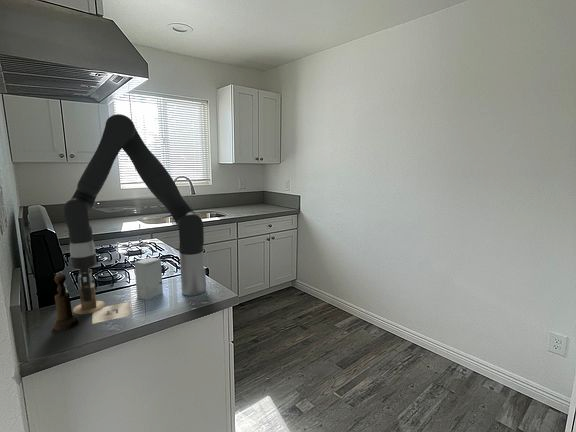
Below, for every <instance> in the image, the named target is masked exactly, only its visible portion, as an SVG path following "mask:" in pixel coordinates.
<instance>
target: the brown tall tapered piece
mask: <svg viewBox="0 0 576 432" xmlns="http://www.w3.org/2000/svg"><path fill="white" fill-rule="evenodd" d="M53 281H54V282H55V284H57V288H56V290H57V292H58V293H57V294H55V295H54V300H55V308H56V313H57V314H56V315H57V318H56V320H55V319H54V321H53V328H54V331H56V332H65V331H69V330H72V329H74V328H75V327H77V326H78V324H79V319H78V316H77V315H74V314H73V309H72V303H71V296H70V292H66V286H65V285H64V284H65V281H66V275H65V274H63V273H59V274H56V275H55V276H54V280H53Z"/></svg>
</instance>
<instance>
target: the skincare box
mask: <svg viewBox="0 0 576 432" xmlns="http://www.w3.org/2000/svg"><path fill="white" fill-rule="evenodd" d="M133 263H134V273H135V288H136V297H137V298H138V299H141V300H144V301H147V300H149V299H153V298H155V297H157V296H159V295H162V294H163V293H164V290H163V276H162V275H163V272H162V260H161V258H157V257H148V258H144V259H140V260H137V261H134V262H133Z"/></svg>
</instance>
